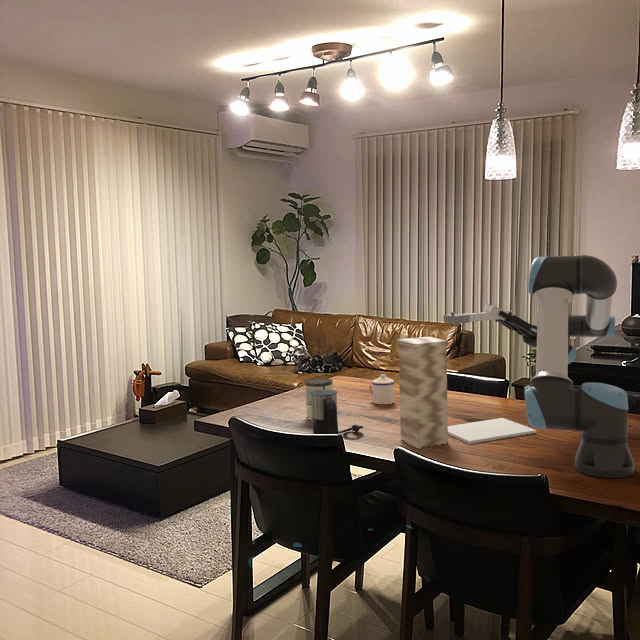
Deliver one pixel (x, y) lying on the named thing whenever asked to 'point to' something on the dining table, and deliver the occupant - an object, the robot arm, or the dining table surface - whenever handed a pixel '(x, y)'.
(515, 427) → the mat
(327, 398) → the milk frother
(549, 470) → the dining table surface
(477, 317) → the brushed metal bar
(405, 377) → the beige zigzag tall box
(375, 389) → the teacup with lid
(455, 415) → the dining table surface
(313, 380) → the coffee can
